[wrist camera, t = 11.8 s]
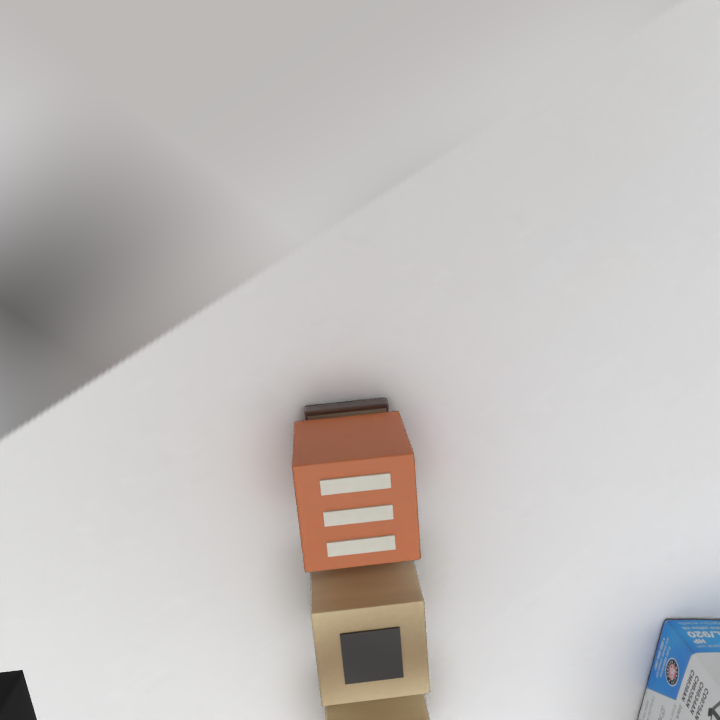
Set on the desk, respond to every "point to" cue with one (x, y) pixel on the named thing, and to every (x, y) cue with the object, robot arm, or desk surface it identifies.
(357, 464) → the striped orange block
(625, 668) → the desk surface
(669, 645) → the ink box
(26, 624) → the desk surface
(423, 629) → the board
